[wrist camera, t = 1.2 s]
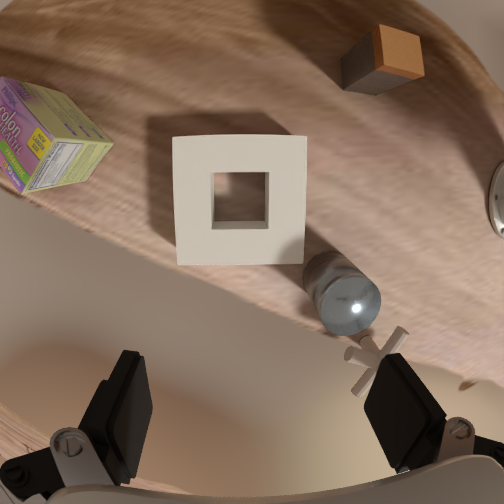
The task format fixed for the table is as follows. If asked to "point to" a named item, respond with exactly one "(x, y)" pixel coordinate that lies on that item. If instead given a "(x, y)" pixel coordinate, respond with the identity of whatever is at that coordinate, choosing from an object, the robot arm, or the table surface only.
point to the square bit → (382, 61)
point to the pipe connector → (372, 357)
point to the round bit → (341, 293)
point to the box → (46, 137)
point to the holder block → (239, 232)
